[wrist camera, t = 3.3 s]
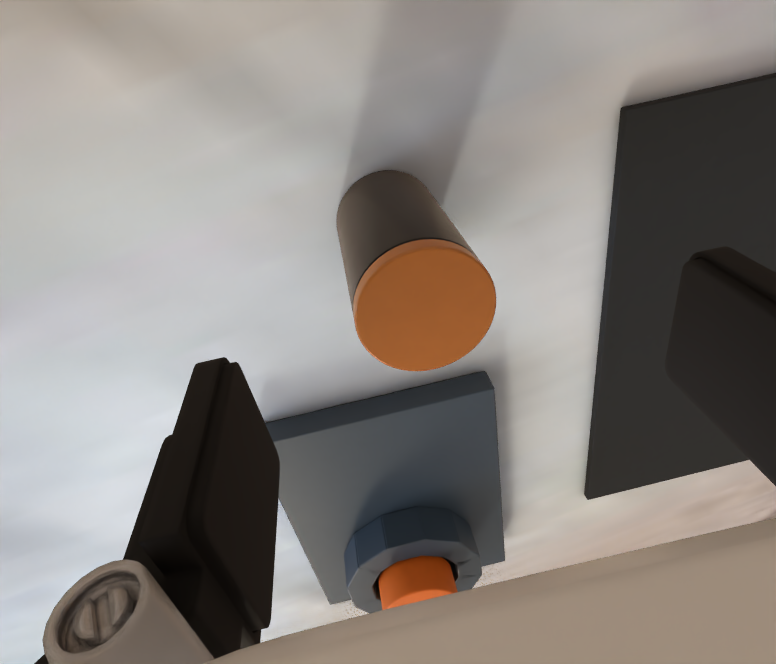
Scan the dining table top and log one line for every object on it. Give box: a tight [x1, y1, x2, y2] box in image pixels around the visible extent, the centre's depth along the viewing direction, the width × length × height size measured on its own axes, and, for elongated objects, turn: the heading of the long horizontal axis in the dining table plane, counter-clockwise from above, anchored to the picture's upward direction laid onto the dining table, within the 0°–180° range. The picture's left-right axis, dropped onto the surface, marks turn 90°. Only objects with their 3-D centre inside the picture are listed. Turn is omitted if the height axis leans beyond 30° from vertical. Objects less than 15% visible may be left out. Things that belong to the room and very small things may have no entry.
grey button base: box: [265, 371, 505, 613], centre depth 23 cm, size 13×10×3 cm
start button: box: [379, 556, 458, 610], centre depth 23 cm, size 4×4×2 cm
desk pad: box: [584, 73, 776, 500], centre depth 21 cm, size 20×12×1 cm, turn 10°
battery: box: [336, 170, 496, 371], centre depth 14 cm, size 3×3×6 cm
